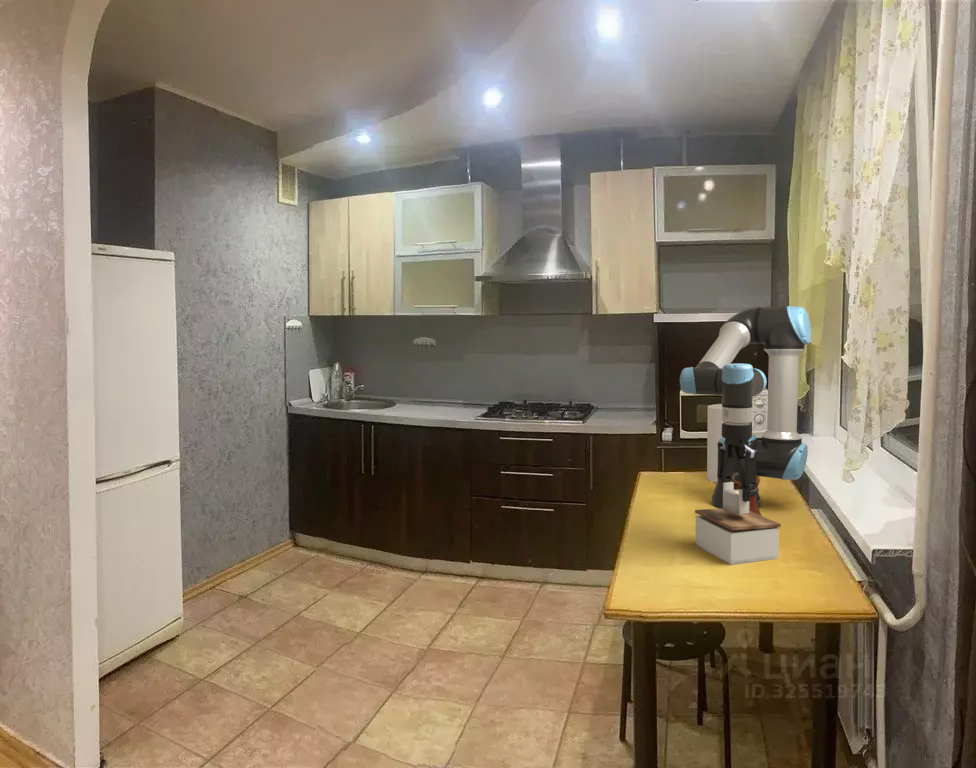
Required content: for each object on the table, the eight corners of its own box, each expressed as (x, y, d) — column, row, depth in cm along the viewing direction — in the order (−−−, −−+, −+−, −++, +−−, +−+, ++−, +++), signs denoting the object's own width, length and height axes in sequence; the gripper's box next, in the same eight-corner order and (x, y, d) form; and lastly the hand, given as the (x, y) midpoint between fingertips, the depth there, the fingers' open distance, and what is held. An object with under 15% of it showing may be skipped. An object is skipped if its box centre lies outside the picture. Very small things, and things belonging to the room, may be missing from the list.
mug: (760, 537, 189) (761, 485, 188) (717, 532, 195) (718, 481, 193) (765, 520, 205) (766, 471, 204) (726, 515, 211) (726, 468, 209)
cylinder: (699, 481, 255) (700, 407, 252) (717, 472, 268) (717, 402, 266) (745, 487, 244) (746, 411, 241) (761, 478, 257) (762, 405, 254)
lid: (740, 510, 188) (740, 505, 188) (780, 527, 172) (780, 521, 172) (694, 512, 184) (695, 507, 184) (731, 530, 168) (731, 524, 168)
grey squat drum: (737, 506, 181) (738, 488, 181) (752, 513, 176) (752, 494, 175) (718, 508, 180) (719, 490, 179) (732, 515, 174) (732, 495, 174)
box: (739, 539, 188) (740, 511, 188) (778, 558, 173) (778, 528, 172) (695, 544, 185) (695, 516, 184) (730, 564, 169) (731, 533, 169)
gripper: (703, 419, 184) (702, 501, 186) (747, 429, 165) (746, 521, 168) (727, 417, 186) (726, 499, 188) (773, 427, 167) (771, 518, 170)
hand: (735, 509), depth 178 cm, fingers closed on grey squat drum, 6 cm apart
